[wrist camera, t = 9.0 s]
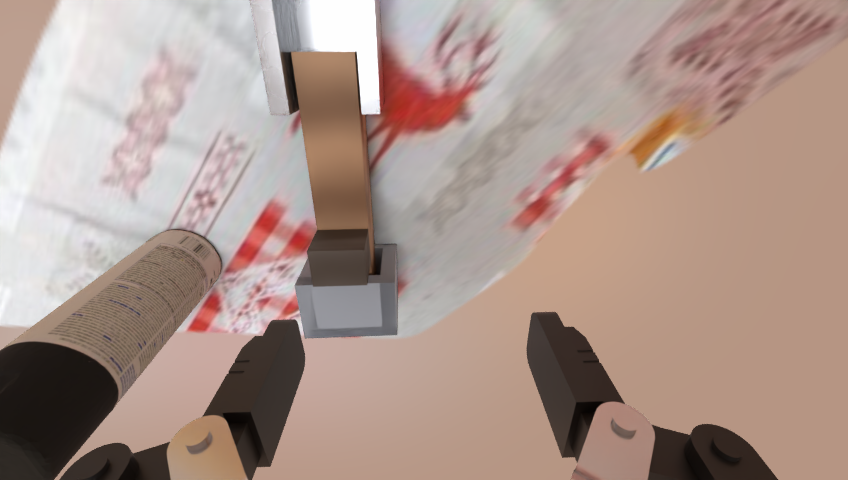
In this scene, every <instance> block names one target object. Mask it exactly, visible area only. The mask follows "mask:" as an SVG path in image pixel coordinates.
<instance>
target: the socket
mask: <svg viewBox="0 0 848 480" xmlns="http://www.w3.org/2000/svg"><path fill="white" fill-rule="evenodd" d="M374 246H375V261H376V275H369V277H368V284H367V285H358V286H325V287H313V284H312V278H311V272H310V266H309V260H308V259H307V261H306V263H305V266H304V268H303V270H302V272H301V274H300V277H298V280H297V282H296V284H295V290H296V295H297V300H298V305H299V310H300V315H301V321H302V326H303V331H304V336H305V338H328V337H355V336H382V335H397V322H398V278H397V253H396V244H378V245H374Z"/></svg>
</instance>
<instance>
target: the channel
mask: <svg viewBox="0 0 848 480" xmlns="http://www.w3.org/2000/svg"><path fill="white" fill-rule="evenodd" d="M250 5H251V10H252V16H253V21H254V27H255V32H256V37H257V43H258V48H259V54H260V59H261V65H262V70H263V76H264V81H265V87H266V92H267V97H268V103H269V108H270V114H271V115H290V114H292V113H294V112H296V111H298V110H299V103H298V96H297V89H296V82H295V76H294V69H293V62H292V55H291V52H357V58H358V71H359V85H360V98H361V112H362V114H380V113H381V111H382V108H383V105H384V82H383V61H382V39H381V17H380V0H250Z"/></svg>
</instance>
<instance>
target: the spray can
mask: <svg viewBox="0 0 848 480" xmlns="http://www.w3.org/2000/svg"><path fill="white" fill-rule="evenodd" d="M220 271H221V261H220V258H219V256H218V254H217V253H216V251H215V249H214V247H213V246H212V245H211V244H210V243H209V242H208V241H207V240H206V239H204V238H203V237H202V236H199V235H196V234H194V233H191V232H188V231H182V230H169V231H166V232H162V233H160V234H157V235H156V236H154V237H152V238H151V239H150V240H148V241H147V242H146V243H144V244H143V245H142V246H140V247H139V248H138V249H136V250H135V251H134V252H132V253H131V254H130V255H128V256H127V257H125V258H124V259H123V260H121V261H120V262H119V263H117V264H116V265H115V266H113V267H112V268H111V269H109V270H108V271H107V272H105V273H104V274H103V275H101V276H100V277H99V278H97V279H96V280H95V281H93V282H92V283H91V284H89V285H88V286H86V287H85V288H84V289H82V290H81V291H80V292H78V293H77V294H75V295H74V296H73V297H71V298H70V299H69V300H67V301H66V302H65V303H63V304H62V305H61V306H59V307H58V308H57V309H55V310H54V311H53V312H51V313H50V314H48V315H47V316H46V317H44V318H43V319H42V320H40V321H39V322H38V323H36V324H35V325H34V326H32V327H31V328H30V329H28V330H27V331H26V332H24V333H23V334H22V335H20V336H19V337H18V338H16V339H15V340H14V341H12V342H11V343H10V344H8V345H7V346H6V347H4V348H3V349H2V350H0V480H54V479H55V478H56V476H57V475H58V474H59V473H60V471H61V470H62V469H63V467H65V465H66V464H67V463H68V462H69V460H70V459H71V458H72V457H73V456H74V455H75V454H76V452H77V451H78V450H79V449H80V448H81V446H82V445H83V444H84V443H85V442H86V440H87V439H88V438H89V437H90V435H91V434H92V433H93V432H94V431H95V430H96V428H97V427H98V426H99V425H100V423H101V422H102V421H103V420H104V419H105V418H106V417H107V415H108V414H109V413H110V412H111V411H112V410H113V408H114V407H115V406H116V404H117V403H118V402H119V401H120V399H121V398H122V397H123V396H124V394H125V393H126V392H127V391H128V389H129V388H130V387H131V386H132V384H133V383H134V382H135V381H136V379H137V378H138V377H139V376H140V375H141V373H142V372H143V371H144V370H145V368H146V367H147V366H148V365H149V364H150V362H151V361H152V360H153V359H154V357H155V356H156V355H157V353H158V352H159V351H160V350H161V349H162V347H163V346H164V345H165V344H166V342H167V341H168V340H169V339H170V337H171V336H172V335H173V334H174V332H175V331H176V330H177V329H178V327H179V326H180V325H181V324H182V323H183V321H184V320H185V319H186V318H187V316H188V315H189V314H190V313H191V311H192V310H193V309H194V308H195V306H196V305H197V304H198V303H199V302H200V300H201V299H202V298H203V297H204V295H205V294H206V293H207V292H208V290H209V289H210V288H211V287H212V285H213V284H214V283H215V282H216V280H217V278H218V276H219V274H220Z"/></svg>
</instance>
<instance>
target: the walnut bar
mask: <svg viewBox="0 0 848 480" xmlns="http://www.w3.org/2000/svg"><path fill="white" fill-rule="evenodd" d="M291 55H292V62H293V69H294V76H295V82H296V89H297V96H298V103H299V109H300V116H301V123H302V130H303V136H304V143H305V150H306V157H307V164H308V170H309V177H310V184H311V191H312V197H313V204H314V211H315V218H316V224H317V232H316V234H315V236H314V238H313V240H312V242H311V244H310V246H309V249H308V251H307V254H308V260H309V266H310V272H311V278H312V284H313V287H325V286H358V285H367V284H368V277H369V275H376V261H375V246H374V232H373V218H372V203H371V189H370V175H369V160H368V146H367V132H366V118H365V114H362V112H361V98H360V85H359V71H358V58H357V52H291Z"/></svg>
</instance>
